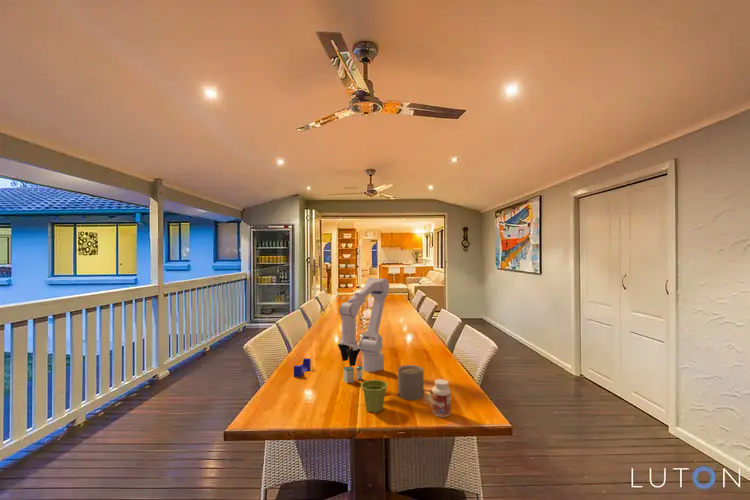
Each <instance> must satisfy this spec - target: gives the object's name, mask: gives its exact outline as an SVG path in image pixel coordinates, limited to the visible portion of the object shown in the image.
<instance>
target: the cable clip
mask: <svg viewBox="0 0 750 500" xmlns="http://www.w3.org/2000/svg"><path fill="white" fill-rule="evenodd" d="M306 372H311V358H307V357H304V358H303V359H302V364H299V365H294V366H293V377H295V378H301V377H303V375H304V374H305V373H306Z"/></svg>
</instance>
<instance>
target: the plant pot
mask: <svg viewBox="0 0 750 500" xmlns="http://www.w3.org/2000/svg"><path fill="white" fill-rule="evenodd" d="M360 386H361V388H362V391H363V396H364V397H363V398H364V403H365V404H364V405H365V410H366V411H367V412H372V413H380V412H382V410H384V405H385V403H384V402H385V397H386V391H387V388H388V383H387V382H385V381H384V380H380V379H370V380H365V381H363V382H362V383H361V385H360Z"/></svg>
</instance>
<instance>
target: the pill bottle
mask: <svg viewBox="0 0 750 500" xmlns="http://www.w3.org/2000/svg"><path fill="white" fill-rule="evenodd" d="M449 385H450V384H449V381H448V380H447V379H442V378H439V379H435V380H434V386H433V388H432V414H434V416H436V417H439V418H447V416H448V417H449V416H450V415H451V407H452V406H451V404H452V402H451V395H452V394H451V389H450V388H449Z"/></svg>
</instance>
